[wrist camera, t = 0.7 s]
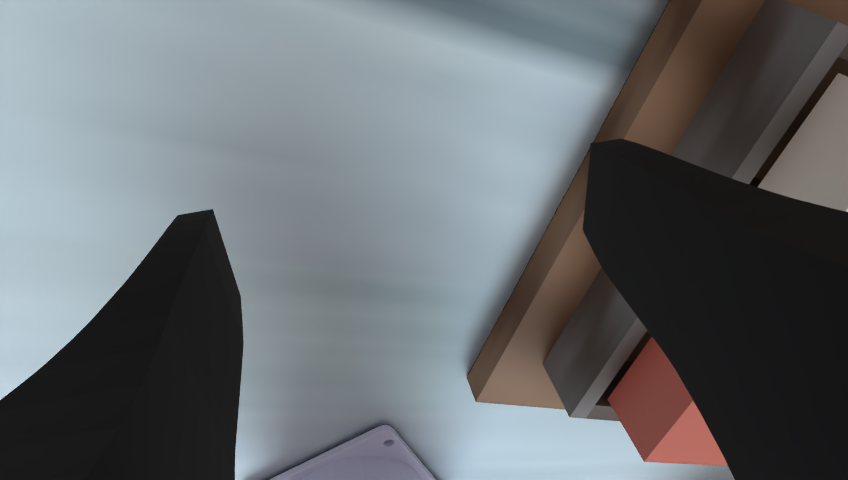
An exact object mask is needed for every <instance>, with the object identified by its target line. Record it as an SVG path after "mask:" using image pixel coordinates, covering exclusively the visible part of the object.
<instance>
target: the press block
mask: <svg viewBox="0 0 848 480" xmlns="http://www.w3.org/2000/svg"><path fill="white" fill-rule="evenodd" d="M838 73H840V74H842V75H845V76H847V77H848V0H670V1H669V3H668V5H667V7H666V9H665V10H664V12H663V14H662V16H661V18H660V20H659V22H658V23H657V25H656V27H655V29H654V31H653V33H652V35H651V36H650V38H649V40H648V42H647V44H646V46H645V48H644V49H643V51H642V53H641V55H640V57H639V59H638V61H637V62H636V64H635V66H634V68H633V70H632V72H631V74H630V75H629V77H628V79H627V81H626V83H625V85H624V87H623V88H622V90H621V92H620V94H619V96H618V98H617V100H616V101H615V103H614V105H613V107H612V109H611V111H610V113H609V114H608V116H607V118H606V120H605V122H604V124H603V126H602V127H601V129H600V131H599V133H598V135H597V137H596V139H595V140H594V142H593V143H597V142H603V141H609V140H614V139H620V138H621V139H625V140H629V141H632V142H635V143H638V144H641V145H644V146H647V147H650V148H653V149H655V150H658V151H661V152H663V153H666V154H668V155H671V156H674V157H676V158H679V159H681V160H684V161H687V162H689V163H692V164H694V165H697V166H699V167H702V168H705V169H707V170H710V171H713V172H715V173H718V174H721V175H723V176H726V177H729V178H732V179H735V180H737V181H740V182H743V183H746V184H749V185H752V186H755V187H758V186H759V184H760V183H761V182H762V180H763V179H764V177H765V176H766V174H767V173H768V172H769V170H770V169H771V167H772V166H773V165H774V163H775V162H776V160H777V159H778V158H779V156H780V155H781V153H782V152H783V150H784V149H785V148H786V146H787V145H788V143H789V142H790V141H791V139H792V138H793V136H794V135H795V134H796V132H797V131H798V129H799V128H800V126H801V125H802V124H803V122H804V121H805V119H806V118H807V117H808V115H809V114H810V112H811V111H812V109H813V108H814V107H815V105H816V104H817V102H818V101H819V100H820V98H821V97H822V95H823V94H824V93H825V91H826V90H827V88H828V87H829V85H830V84H831V83H832V81H833V80H834V78H835V77H836V76H837V74H838ZM590 149H591V148H590ZM589 159H590V150H589V152H588V153H587V155H586V157H585V159H584V161H583V163H582V165H581V166H580V168H579V170H578V172H577V174H576V176H575V178H574V179H573V181H572V183H571V185H570V187H569V189H568V191H567V192H566V194H565V196H564V198H563V200H562V202H561V204H560V205H559V207H558V209H557V211H556V213H555V215H554V217H553V218H552V220H551V222H550V224H549V226H548V228H547V230H546V231H545V233H544V235H543V237H542V239H541V241H540V243H539V244H538V246H537V248H536V250H535V252H534V254H533V256H532V257H531V259H530V261H529V263H528V265H527V267H526V269H525V270H524V272H523V274H522V276H521V278H520V280H519V282H518V283H517V285H516V287H515V289H514V291H513V293H512V295H511V296H510V298H509V300H508V302H507V304H506V306H505V308H504V309H503V311H502V313H501V315H500V317H499V319H498V320H497V322H496V324H495V326H494V328H493V330H492V332H491V333H490V335H489V337H488V339H487V341H486V343H485V345H484V346H483V348H482V350H481V352H480V354H479V356H478V358H477V359H476V361H475V363H474V365H473V367H472V369H471V371H470V372H469V374H468V376H467V379H468V382H469V385H470V387H471V390H472V393H473V396H474V398H475V401H476V402H483V403H495V404H507V405H519V406H531V407H543V408H555V409H566V411H567V413H568V415H569V417H574V418H587V419H599V420H612V421H620V420H619V418H618V416H617V415H616V413H615V411H614V410H613V408H612V406H611V405H610V403H609V401H608V400H607V399H608V398H609V396H610V395H611V394H612V392H613V391H614V389H615V388H616V386H617V385H618V384H619V382H620V381H621V379H622V378H623V377H624V375H625V374H626V372H627V371H628V370H629V368H630V367H631V365H632V364H633V362H634V361H635V360H636V358H637V357H638V355H639V354H640V353H641V351H642V350H643V348H644V347H645V345H646V344H647V343H648V341H649V340H650V338H651V337H652V336H651V334H650V333H649V332H648V330H647V329H646V328H645V326H644V325H643V324H642V322H641V321H640V320H639V318H638V317H637V315H636V314H635V313H634V311H633V310H632V309H631V307H630V306H629V305H628V303H627V302H626V301H625V299H624V298H623V297H622V295H621V294H620V292H619V291H618V290H617V288H616V287H615V286H614V284H613V283H612V281H611V280H610V279H609V277H608V276H607V274H606V273H605V272H604V270H603V269H602V267H601V265H600V263H599V261H598V259H597V258H596V256H595V254H594V252H593V250H592V248H591V246H590V244H589V242H588V240H587V238H586V236H585V234H584V232H583V220H584V210H585V200H586V190H587V180H588V169H589Z"/></svg>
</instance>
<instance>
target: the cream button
mask: <svg viewBox="0 0 848 480" xmlns="http://www.w3.org/2000/svg"><path fill="white" fill-rule="evenodd" d="M758 188H761V189H764V190H767V191H771V192H774V193H777V194H780V195H784V196H787V197H790V198H794V199H798V200H801V201H805V202H809V203H813V204H817V205H821V206H825V207H829V208H833V209H837V210H841V211H846V212H848V77H847V76H845V75H842V74H840V73H838V74H837V76H836V77H835V78H834V80H833V81H832V83H831V84H830V85H829V87H828V88H827V90H826V91H825V93H824V94H823V95H822V97H821V98H820V100H819V101H818V102H817V104H816V105H815V107H814V108H813V109H812V111H811V112H810V114H809V115H808V117H807V118H806V119H805V121H804V122H803V124H802V125H801V126H800V128H799V129H798V131H797V132H796V134H795V135H794V136H793V138H792V139H791V141H790V142H789V143H788V145H787V146H786V148H785V149H784V150H783V152H782V153H781V155H780V156H779V158H778V159H777V160H776V162H775V163H774V165H773V166H772V167H771V169H770V170H769V172H768V173H767V174H766V176H765V177H764V179H763V180H762V182H761V183H760V184H759V186H758Z"/></svg>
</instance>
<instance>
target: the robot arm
mask: <svg viewBox="0 0 848 480" xmlns="http://www.w3.org/2000/svg"><path fill="white" fill-rule="evenodd" d="M583 232H584V234H585V236H586V238H587V240H588V242H589V244H590V246H591V248H592V250H593V252H594V254H595V256H596V258H597V259H598V261H599V263H600V265H601V267H602V269H603V270H604V272H605V273H606V274H607V276H608V277H609V279H610V280H611V281H612V283H613V284H614V286H615V287H616V288H617V290H618V291H619V292H620V294H621V295H622V297H623V298H624V299H625V301H626V302H627V303H628V305H629V306H630V307H631V309H632V310H633V311H634V313H635V314H636V315H637V317H638V318H639V320H640V321H641V322H642V324H643V325H644V326H645V328H646V329H647V330H648V332H649V333H650V334H651V336H652V337H653V338H654V340H655V341H656V342H657V344H658V345H659V347H660V348H661V349H662V351H663V352H664V354H665V355H666V356H667V358H668V359H669V361H670V362H671V364H672V365H673V367H674V368H675V370H676V372H677V373H678V375H679V377H680V379H681V380H682V382H683V384H684V385H685V387H686V389H687V391H688V392H689V394H690V396H691V398H692V399H693V401H694V403H695V405H696V406H697V408H698V410H699V412H700V413H701V415H702V417H703V419H704V421H705V423H706V425H707V426H708V428H709V430H710V432H711V434H712V436H713V438H714V440H715V441H716V443H717V445H718V447H719V449H720V451H721V453H722V454H723V456H724V458H725V460H726V462H727V464H728V467H729V469H730V471H731V473H732V475H733V477H734V479H735V480H848V212H846V211H841V210H837V209H833V208H829V207H825V206H821V205H817V204H813V203H809V202H805V201H801V200H798V199H794V198H790V197H787V196H784V195H780V194H777V193H774V192H771V191H767V190H764V189H761V188H758V187H755V186H752V185H749V184H746V183H743V182H740V181H737V180H735V179H732V178H729V177H726V176H723V175H721V174H718V173H715V172H713V171H710V170H707V169H705V168H702V167H699V166H697V165H694V164H692V163H689V162H687V161H684V160H681V159H679V158H676V157H674V156H671V155H668V154H666V153H663V152H661V151H658V150H655V149H653V148H650V147H647V146H644V145H641V144H638V143H635V142H632V141H629V140H625V139H621V138H620V139H614V140H609V141H603V142H597V143H591V149H590V159H589V169H588V180H587V190H586V200H585V210H584V220H583ZM242 356H243V325H242V310H241V296H240V293H239V290H238V287H237V284H236V281H235V277H234V274H233V271H232V268H231V265H230V262H229V259H228V256H227V252H226V249H225V246H224V243H223V240H222V237H221V234H220V231H219V227H218V224H217V221H216V218H215V215H214V212H213V209H211V210H206V211H200V212H194V213H188V214H183V215H178V216H177V217H176V218H175V219H174V220H173V222H172V223H171V224H170V226H169V227H168V228H167V230H166V231H165V232H164V234H163V235H162V236H161V237H160V239H159V240H158V241H157V243H156V244H155V245H154V247H153V248H152V249H151V251H150V252H149V253H148V254H147V256H146V257H145V258H144V260H143V261H142V262H141V263H140V265H139V266H138V267H137V268H136V270H135V271H134V272H133V273H132V275H131V276H130V277H129V278H128V280H127V281H126V282H125V283H124V284H123V285H122V287H121V288H120V289H119V290H118V291H117V292H116V293H115V294H114V296H113V297H112V298H111V299H110V300H109V301H108V302H107V303H106V304H105V306H104V307H103V308H102V309H101V310H100V311H99V312H98V313H97V315H96V316H95V317H94V318H93V319H92V320H91V321H90V322H89V323H88V324H87V325H86V326H85V327H84V328H83V329H82V330H81V331H80V332H79V333H78V334H77V335H76V336H75V337H74V338H73V339H72V340H71V341H70V342H69V343H68V344H67V345H66V346H65V347H64V348H62V349H61V350H60V351H59V352H58V353H57V354H56V355H55V356H54V357H53V358H52V359H50V360H49V361H48V362H47V363H46V364H45V365H44V366H43V367H41V368H40V369H39V370H38V371H37V372H36V373H34V374H33V375H32V376H30V377H29V378H28V379H27V380H25V381H24V382H23V383H22V384H20V385H19V386H18V387H17V388H15V389H14V390H13V391H12V392H10V393H9V394H8V395H7V396H5V397H4V398H3V399H1V400H0V480H235V445H236V433H237V420H238V408H239V395H240V383H241V370H242ZM269 480H436V479H435V478H434V477H433V475H432V474H431V473H430V472H429V471H428V469H427V468H426V467H425V466H424V465H423V464H422V462H421V461H420V460H419V459H418V458H417V456H416V455H415V454H414V453H413V452H412V450H411V449H410V448H409V447H408V446H407V444H406V443H405V442H404V441H403V440H402V439H401V437H400V436H399V435H398V434H397V433H396V431H395V430H394V429H393V428H392V427H391V426H388V425H381V426H379V427H376V428H374V429H372V430H370V431H368V432H366V433H364V434H362V435H360V436H358V437H356V438H354V439H352V440H350V441H348V442H346V443H343V444H341V445H339V446H337V447H335V448H333V449H331V450H329V451H327V452H325V453H323V454H321V455H319V456H317V457H315V458H313V459H310V460H308V461H306V462H304V463H302V464H300V465H298V466H296V467H294V468H292V469H290V470H288V471H286V472H284V473H282V474H280V475H277V476H275V477H273V478H271V479H269Z"/></svg>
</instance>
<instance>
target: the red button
mask: <svg viewBox="0 0 848 480" xmlns="http://www.w3.org/2000/svg"><path fill="white" fill-rule="evenodd" d="M607 400H608V401H609V403H610V405H611V406H612V408H613V410H614V411H615V413H616V415H617V416H618V418H619V420H620V422H621V423H622V425H623V427H624V428H625V430H626V432H627V433H628V435H629V437H630V438H631V440H632V442H633V444H634V445H635V447H636V449H637V450H638V452H639V454H640V455H641V457H642V459H643V460H644V462H661V463H681V464H702V465H722V466H728V464H727V462H726V460H725V458H724V456H723V454H722V453H721V451H720V449H719V447H718V445H717V443H716V441H715V440H714V438H713V436H712V434H711V432H710V430H709V428H708V426H707V425H706V423H705V421H704V419H703V417H702V415H701V413H700V412H699V410H698V408H697V406H696V405H695V403H694V401H693V399H692V398H691V396H690V394H689V392H688V391H687V389H686V387H685V385H684V384H683V382H682V380H681V379H680V377H679V375H678V373H677V372H676V370H675V368H674V367H673V365H672V364H671V362H670V361H669V359H668V358H667V356H666V355H665V354H664V352H663V351H662V349H661V348H660V347H659V345H658V344H657V342H656V341H655V340H654V338H653V337H651V338H650V340H649V341H648V343H647V344H646V345H645V347H644V348H643V350H642V351H641V353H640V354H639V355H638V357H637V358H636V360H635V361H634V362H633V364H632V365H631V367H630V368H629V370H628V371H627V372H626V374H625V375H624V377H623V378H622V379H621V381H620V382H619V384H618V385H617V386H616V388H615V389H614V391H613V392H612V394H611V395H610V396H609V398H608V399H607Z"/></svg>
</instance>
